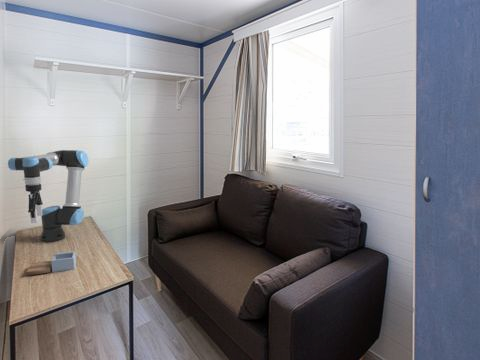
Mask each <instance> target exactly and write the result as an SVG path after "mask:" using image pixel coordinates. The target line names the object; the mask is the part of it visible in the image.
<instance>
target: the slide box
mask: <svg viewBox="0 0 480 360" xmlns="http://www.w3.org/2000/svg"><path fill="white" fill-rule="evenodd" d="M50 261H51V265H52V269H51V273H57V272H64V271H70V270H75V269H76V265H77V256H76V251H69V252H59V253H54V254H53V257H52V259H51V260H50Z"/></svg>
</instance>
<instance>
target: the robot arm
mask: <svg viewBox="0 0 480 360" xmlns="http://www.w3.org/2000/svg"><path fill="white" fill-rule="evenodd" d="M88 165H89V158H88V155H87V153H86V152H85V151H84V150H79V149H78V150H69V149H67V150H66V149H62V150H60V149H59V150H56V151H50V152H47V153H46V154H39V155H33V156H24V157H10V158H9V159H8V161H7V167H8V168H9V170H11V171H16V172H17V171H23V177H24V178H23V181H24V184H25V192H28V193H30V194H28V210H27V212H28V213H29V217H30V223H31V224H38V218H37V217H41V224H42V225H41V226H42V231H41V234H40V241H41V242H44V243H51V242H52V243H53V242H57V241H61V240H63V239H64V238H66V232H65V230H64V228H63V226H77V225H80V224H81V223H82V221H83V220H84V217H85V210H84V209H83V208H82V206H81V205H80V196H81V184H82V174H83V173H82V172H83V171H85V167H87V166H88ZM54 166H61V167H65V168H66V169H67V183H66V192H65V202H64V204H63V205H62V207H61V206H60V205H50V206H47V207H44V208H42V207H43V206H42V205H43V200H42V196H41V192H40V191H42V184H41V183H42V179H41V172H45V171H48V170H51V169H52V168H53V167H54Z"/></svg>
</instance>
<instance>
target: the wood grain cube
mask: <svg viewBox="0 0 480 360" xmlns="http://www.w3.org/2000/svg"><path fill="white" fill-rule="evenodd" d="M51 272H52V265H51V260H46V261H40V262H39V261H38V262H32V263H30V265H29V267H28V268H27V270H26V272H25V273H26V276H33V275H40V274H42V275H43V274H47V273H51Z"/></svg>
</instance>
